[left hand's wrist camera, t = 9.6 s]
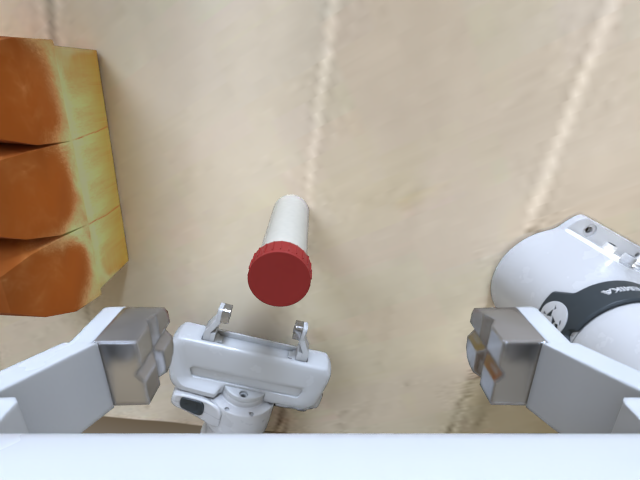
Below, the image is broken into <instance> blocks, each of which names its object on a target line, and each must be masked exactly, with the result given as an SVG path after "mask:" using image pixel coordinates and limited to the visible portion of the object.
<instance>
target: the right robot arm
mask: <svg viewBox="0 0 640 480" xmlns="http://www.w3.org/2000/svg"><path fill="white" fill-rule="evenodd" d="M588 227H589V228H588ZM586 228H588V230H586ZM585 230H586V231H585ZM491 296H492V300H493V302H494V305H495V306H496V308H502V307H531V306H532V307H534V308H537V309H538V310H539V311H540V312H541V313H542V314H543V315H544V316H545V317H546V318H547V319H548V320H549V321H550V322H551V323H552V324H553V325H554V326H555V327H556V328H557V329H558V330H559V331H560V332H561V333H562V334H563V335H564V336H565V337H566V338H567V340H568V341H569V342H570V343H578V344H581V345H583V346H585V347H587V348H590V349H592V350H594V351H596V352H598V353H601V354H603V355H605V356H607V357H610V358H612V359H614V360H616V361H618V362H621V363H623V364H625V365H627V366H630V367H632V368H634V369H636V370H638V371H640V246H638V245H637V244H635V243H633V242H631V241H629V240H628V239H626V238H624V237H622V236H621V235H619V234H617V233H615V232H613V231H612V230H610V229H608V228H606V227H605V226H603V225H601V224H599V223H597V222H596V221H594V220H592V219H590V218H589V217H587V216H585V215H576V216H574V217H572V218H570V219H568V220H567V221H565V222H564V223H562V224H561V225H560V226H558V227H556V228H554V229H551V230H547V231H544V232H540V233H537V234H534V235H532V236H530V237H528V238H526V239H524V240H522V241H521V242H519V243H518V244H517V245H515V246H514V247H513V248H512V249H511V250H509V251H508V252H507V253H506V255H505V256H504V257H503V258H502V259H501V261H500V262H499V264H498V266H497V267H496V269H495V272H494V274H493V277H492V282H491ZM232 308H233V305H230V304H226V303H221V304H220V307H219V310H218V313H217V314H216V315H215V316H214V317H213V318H212V319H211V320H209V321H208V324H207V326H204V325H199V324H195V323H191V322H186V323H184V324H182V325H181V326H180V327H179V328H178V329H177V331H176V332H175V334H174V336H173V343H174V353H173V358H172V362H171V365H170V367H169V375H170V379H171V381H172V383H173V384H174V385H175V387H174V390H173V394H172V398H171V402H172V404H173V405H175V406H176V407H178V408H181V409H183V410H185V411H187V412H189V413H191V414H193V415H195V416H197V417H199V418H200V419H202V420H203V421H205V422H204V424H203V426H202V428H201V432H200V434H263V432H264V431H265V429H266V427H267V425H268V422H269V419H270V415H271V412H272V409H273V406H278V407H283V408H292V409H296V410H298V411H306V410H307V409H313V408H317V407H318V406H319V403H320V401H321V399H322V396H323V391H324V389H325V387H326V385H327V383H328V381H329V379H330V376H331V362H330V359H329V357H328V355H327V354H326V353H324V352H320V351H316V350H311V349H309V342H308V339H307V337H306V333H307V329H308V323H307V322H303V321H298V320H296V323H295V326H294V329H293V339H296V340H299V342H298V345H297V346H293V345H289V344H284V343H280V342H275V341H271V340H266V339H262V338H258V337H253V336H249V335H244V334H240V333H235V332H231V331H226V330H222V329H218V328H219V324H220V323H226V324H228V322H229V319H230V316H231V312H232Z"/></svg>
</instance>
